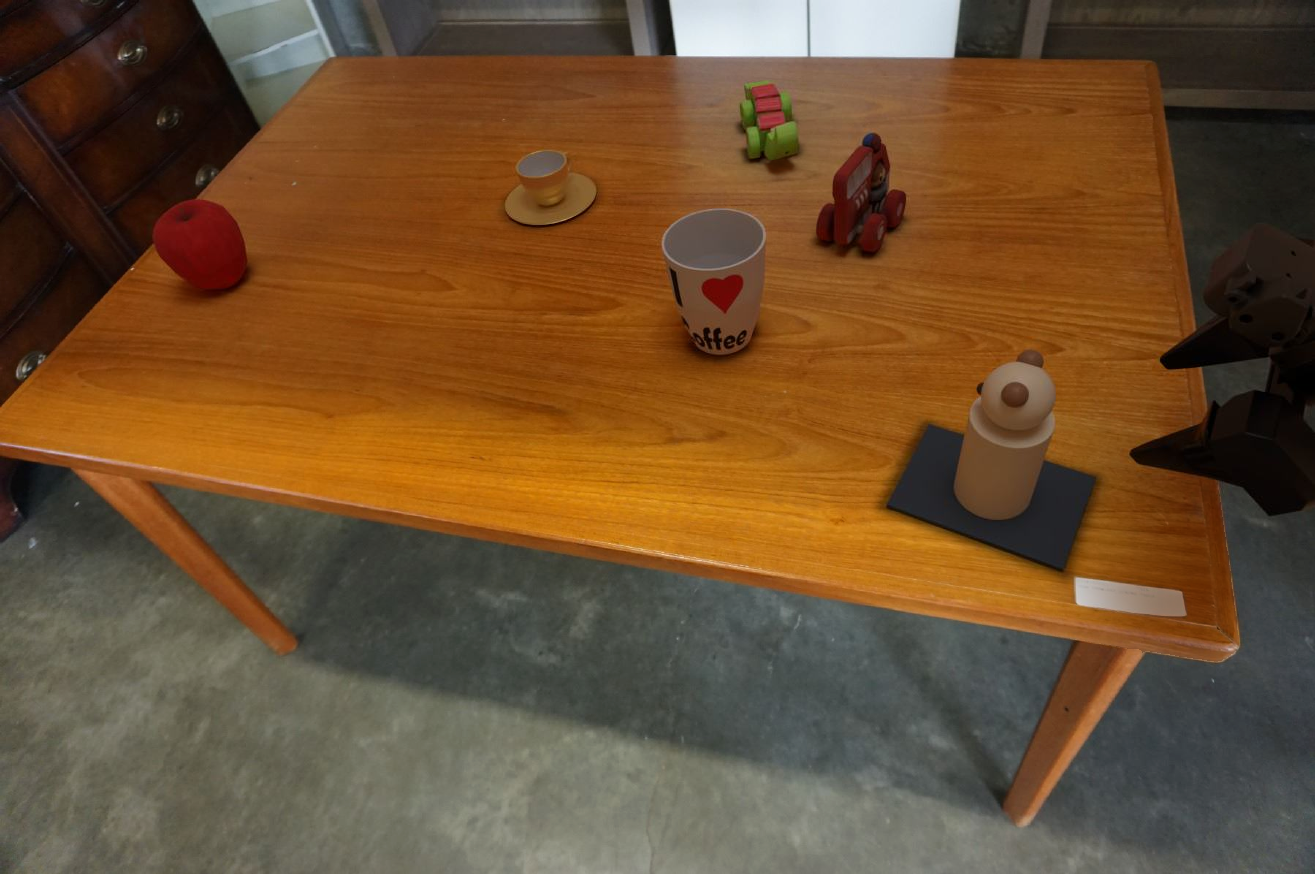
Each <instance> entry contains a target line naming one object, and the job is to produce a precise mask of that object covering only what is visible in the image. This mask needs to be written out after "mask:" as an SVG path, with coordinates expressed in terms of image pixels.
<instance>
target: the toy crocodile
mask: <svg viewBox="0 0 1315 874" xmlns="http://www.w3.org/2000/svg"><path fill="white" fill-rule="evenodd" d="M743 89H744V95H745V100H742V101H740V102H739V115H740V120H741V125H742V128H743V130H745V142H746V149H747V150H746V151H747V155H748V158H749V159H750V160H752V159H758V158H761V155H762V152H763V153H764V156H765V157H766V158H767V159H768V160H770V161H775V160H778V159H782V158H786V157H791V156H793V155H797V154H799V152H800V141H799V133H798V127H797V123H796V121H795V120H792V119H793V109H792V108H793V107H792V101H791V96H790V94H789V92H788V91H784V92H779V89H778V88H777V86H776V83H775V81H770V80H769V79H766V80H760V81H756V82H750V83H745V84H744V86H743ZM741 118H742V119H741ZM787 119H789V120H787ZM742 120H743V121H742ZM743 123H744V124H743ZM744 125H745V126H744ZM753 125H755V126H753ZM748 126H749V127H748ZM750 126H752V127H750ZM746 127H747V128H746Z"/></svg>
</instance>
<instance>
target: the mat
mask: <svg viewBox="0 0 1315 874" xmlns="http://www.w3.org/2000/svg"><path fill="white" fill-rule="evenodd" d="M964 435H965V434H962V433H959V432H956V431H953V430H950V429H946V428H943V427H941V426H937V425H935V424H930V423H929V424H928V425H927V427H926V429H925V431H924V432H923V434H922V436H921V438H920V440H919V442H918V444H917V446H916V448H915V450H914V452H913V454H912V455H911V457H910V459H909V461H908V463H907V465H906V466H905V469H904V471H903V472H902V474H901V476H900V478H899V481H898V482H897V484H896V486H895V488H894V490H893V492H892V494H891V495H890V498H889V500H888V501H887V503H886V508H888V509H890V510H894V511H896V512H899V513H901V514H904V515H906V516H909V517H912V518H915V519H917V520H921V521H923V522H926V523H928V524H931V525H934V526H937V527H939V528H942V529H945V530H947V531H950V532H953V533H956V534H959V535H961V536H964V537H966V538H970V539H972V540H975V541H978V542H980V543H983V544H986V545H988V546H990V547H994V548H996V549H1000V550H1002V551H1005V552H1007V553H1010V554H1013V555H1015V556H1018V557H1021V558H1024V559H1026V560H1028V561H1032V562H1034V563H1037V564H1040V565H1043V566H1045V567H1048V568H1051V569H1053V570H1056V571H1059V572H1062V573H1063V572H1064V570H1065V567H1066V565H1067V562H1068V559H1069V556H1070V553H1071V551H1072V547H1073V545H1074V542H1075V539H1076V536H1077V533H1078V530H1079V528H1080V525H1081V522H1082V519H1083V517H1084V514H1085V511H1086V508H1087V505H1088V502H1089V500H1090V496H1091V493H1092V491H1093V488H1094V485H1095V482H1096V480H1097V476H1095V475H1091V474H1089V473H1085V472H1082V471H1079V470H1076V469H1073V468H1070V467H1067V466H1064V465H1060V464H1057V463H1054V462H1051V461H1048V460H1045V459H1044V461H1043V464H1042V467H1041V470H1040V473H1039V476H1038V479H1037V482H1036V485H1035V488H1034V491H1033V494H1032V497H1031V500H1030V503H1029V505H1028V507H1027V508H1026V509H1025V510H1024V511H1023V512H1022V513H1021V514H1019V515H1017V516H1015V517H1013V518H1010V519H1005V520H991V519H986V518H982V517H979V516H977V515H975V514H973V513H971V512H970V511H968V510H967V509H966V508H964V507H963V506H962V505H961V504H960V502H959V501H958V499H957V497H956V495H955V492H954V481H955V477H956V472H957V467H958V463H959V458H960V453H961V449H962V444H963V440H964Z"/></svg>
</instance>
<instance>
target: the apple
mask: <svg viewBox="0 0 1315 874" xmlns="http://www.w3.org/2000/svg"><path fill="white" fill-rule="evenodd" d="M151 239H152V241H153V245H154V248H155V251H156V253H157V255H158V257H159V258H160V259H161V261H163V262H164V264H166V265H167V267H169V268H170V269H171V271H173V272H174V274H176V275H177V276H178V277H180V278H182V279H183V280H184V281H185V282H187V283H189V284H190V285H191V286H192V287H194V288H196V289H199V290H226V289H229V288H231V287H234V286H235V285H236V284H238V283H239V282H240V281H241V279H242V278H243V275H244V274H245V271H246V269H247V265H248V255H247V250H246V249H247V248H246V242H245V241H246V240H245V239H244V236H243V234H242V231H241V229H240V226H239V223H238V222H237V220H236V219H235V218H234V216H233V215H232V214H231V213H230V212H229V211H228V210H227V209H226V207H225V206H223V205H221V204H219V203H217V202H214V201H210V200H207V199H201V198H194V199H193V198H192V199H187V200H183V201H181V202H178V203H177V204H175V205H174V206H172V207H170V208H169V209H168V210H167V211H165V212H164V213H163V214H161V216H160V217H159V219H158V220H157V221H156V223H155V226H154V228H153V231H152V237H151Z"/></svg>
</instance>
